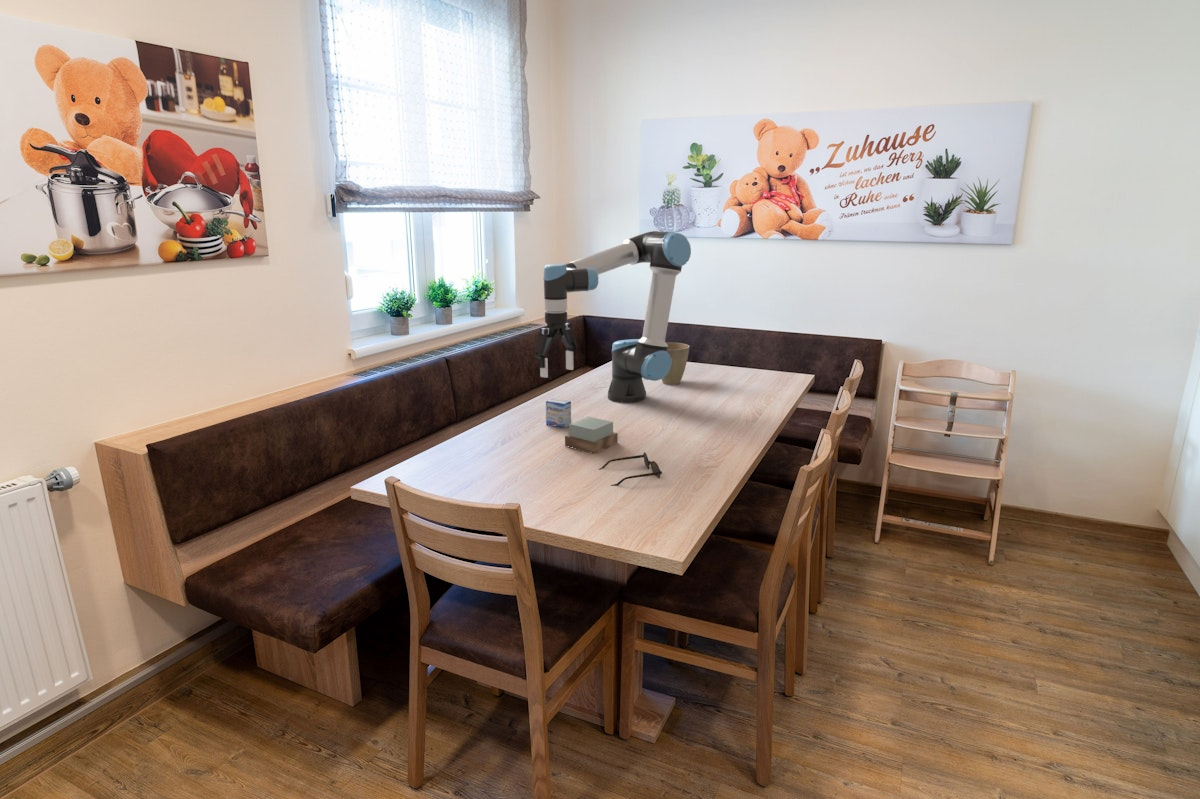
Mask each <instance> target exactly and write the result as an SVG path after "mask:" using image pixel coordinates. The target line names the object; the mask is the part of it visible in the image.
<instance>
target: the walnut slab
mask: <svg viewBox="0 0 1200 799" xmlns="http://www.w3.org/2000/svg"><path fill="white" fill-rule="evenodd" d="M618 437H619V436H618V432H614V431H613V434H611V435H609V436H607V437H605V438H602V439H600V440H598V441H596V442H592V441H588V440H583V439H579V438H575V437H571V436H569V434H567V435H565V436H564V446H565V447H566V446H569V447H568V448H570V447H573V448H572V449H574V448H576V449H575V450H578V449H580V450H579V451H582V450H584V451H583V452H586V451H587V452H586V453H590V452H592V453H591V454H594V453H596V454H598V453H600V452H601V450H602V451H604V450H606V449H608V447H609V448H611V447H613V446H615V445H617V444H618V442H619V440H618ZM616 443H617V444H616ZM612 445H613V446H612ZM610 446H611V447H610ZM603 449H604V450H603ZM599 451H600V452H599ZM597 452H598V453H597Z"/></svg>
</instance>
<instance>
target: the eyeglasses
mask: <svg viewBox="0 0 1200 799" xmlns="http://www.w3.org/2000/svg"><path fill="white" fill-rule="evenodd" d="M642 458H643V462H644V465H645V467H646V468H647V470H649V469H650V468H651V472H648V473H642V474H636V475H631V476H627V477H624V478H622V479H620V481H618V482H617V483H614V484H610V487H611V486H619V485H620V484H622V483H623V482H624V481H626V480H629V479H635V478H642V477H644V478H645V477H652V476H655V477H657V478H658V479H660V478H661V475H663V471H662V470H661V469H660V467H659V465H658V463H657V462H656V461H655V460H651V461H650V460H649V458H648V455H647V452H645V451H644V452H643V454H639V455H632V456H625V457H619V458H614V459H610V460H608V461H607V462H605V464H603V465H602V466H601V467H600V468H598V470H599V471H600V470H602V468H603V469H604V468H606V467H607V466H608V465H609V464H610V463H611V462H618V461H626V460H633V459H642ZM650 466H651V467H650Z"/></svg>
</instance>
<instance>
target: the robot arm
mask: <svg viewBox="0 0 1200 799" xmlns="http://www.w3.org/2000/svg"><path fill="white" fill-rule="evenodd" d="M691 254H692V248H691V243H690V241H689V240H688V238H687V237H686V236H685V235H684V234H682V233H679V232H675V231H657V230H656V231H655V230H653V231H647V232H644V233H641V234H638V235H635V236H633V237H631V238H628V239H625V240H624V241H623V242H622V244H619V245H616V246H613V247H610V248H607V249H603V250H602V251H598V252H596V253H593V254H590V255H587V256H585V257H581V258H579V259H575V260H573V261H570V262H566V263H549V264H546V265H545V266H544V268H543V292H544V296H543V297H544V311H545V312H544V322H545V324H546V328H545V327H541V328H540V330H539V337H538V340H537V345H536V346H535V351H534V357H535V358H537V359H538V361H539V362H538V366H539V371H540V372H539V375H540V378H544V379H545V378H548V379H549V373H548V372H549V365H548V362H549V361H548V357H547V356H548V353H549V351H550V349H551V347H552V345H553V343H554V342H555V341H557V340H559V339H560V340H561V342H562V343H563V345H564V347H565V349H567V350H565V370H569V371H570V370H571V371H573V370H574V359H575V355H574V353H575V352H576V351H577V349H578V347H579V345H578V341H577V339H576V336H575V334H574V331H573V325H572V323H571V322H568V312H567V310H568V293H575V292H589V291H593V290H596V289H597V287H598V285H599V275H602V274H604V273H607V272H609V271H612V270H615V269H618V268H621V267H623V266H626V265H629V264H630V265H631V266H634V265H637V264H642V263H649V269H650V270H651V272H652V276H651V281H650V287H649V293H648V299H647V306H646V312H645V317H644V324H643V330H642V336H641V337H640V338H639V339H638V338H632V339H631V338H630V339H622V340H616V341H614V342H613V343H612V345H611V346H612V348H611V371H612V372H611V375H612V376H611V381H610V385H609V387H608V391H607V398H608V399H609V401H612V402H617V403H625V404H626V403H638V402H643V401H645V400H646V398H647V391H646V388H645V385H644V382H643V379H644V380H647V381H648V380H649V381H653V382H656V381H660V380H662V378H663V377H664V376H666V375H667V374H668V372H669V370H670V368H671V364H672V360H671V357H670V355H669V354H668V353H667V350H668V345H667V343H668V342H666V338H667V337H666V336H667V332H668V330H667V329H668V325H669V318H670V313H671V306H672V301H673V296H674V289H675V283H676V278H677V276H678V275H679V274H681V272H682V268H683V266H685V265H686V264H687V263H688V262H689V261H690V258H691Z"/></svg>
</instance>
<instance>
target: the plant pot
mask: <svg viewBox="0 0 1200 799" xmlns="http://www.w3.org/2000/svg"><path fill="white" fill-rule="evenodd" d="M666 343H667V345H668V350H667V353H668V354H669V355H670V357H671V360H672V364H671V368H670V370H669V372H668V374H667V375H666V376H664V377H663V378H662V379H661V382H662V384H664V385H669V386H670V385H671V386H675V385H679V384H681V381H682V378H683V376H684V373H685V370H686V367H687V362H688V357H689V353H690V345H689V344H687V343H681V342H666Z"/></svg>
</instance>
